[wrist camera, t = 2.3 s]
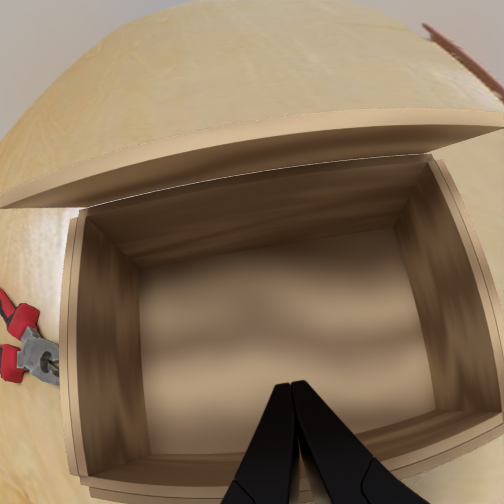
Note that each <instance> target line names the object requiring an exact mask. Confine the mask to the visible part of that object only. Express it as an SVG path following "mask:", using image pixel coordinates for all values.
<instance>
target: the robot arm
mask: <svg viewBox="0 0 504 504" xmlns="http://www.w3.org/2000/svg"><path fill="white" fill-rule="evenodd" d="M298 441H299V442H298ZM299 447H300V451H299ZM300 453H301V457H302V460H303V464H304V467H305V471H306V474H307V477H308V481H309V484H310V487H311V491H312V494H313V497H314V501H315V504H430V503H429V502H427V501H426V500H425V499H423V498H422V497H420V496H419V495H418V494H416V493H415V492H414V491H412V490H411V489H410V488H408V487H407V486H406V485H405V484H403V483H402V482H401V481H400V480H398V479H397V478H396V477H395V476H394V475H393V474H392V473H391V472H390V471H389V470H388V469H387V468H386V467H385V466H384V465H383V464H382V463H381V462H380V461H379V460H378V459H377V458H376V457H373V456H374V455H373V454H372V453H371V452H370V451H369V450H368V449H367V448H366V446H365V445H364V444H363V443H362V442H361V441H360V440H359V439H358V438H357V437H356V436H355V435H354V434H353V432H352V431H351V430H350V429H349V428H348V427H347V426H346V425H345V424H344V423H343V421H342V420H341V419H340V418H339V417H338V416H337V415H336V414H335V413H334V412H333V410H332V409H331V408H330V407H329V406H328V405H327V404H326V403H325V401H324V400H323V399H322V398H321V397H320V396H319V395H318V394H317V392H316V391H315V390H314V389H313V388H312V387H311V386H310V384H309V383H308V382H307V381H306V380H299V381H293V382H291V385H290V383H288V382H287V383H280V384H276V385H275V386H274V388H273V390H272V393H271V395H270V398H269V400H268V402H267V405H266V407H265V409H264V412H263V414H262V416H261V419H260V421H259V423H258V425H257V428H256V430H255V432H254V435H253V437H252V439H251V441H250V443H249V446H248V448H247V450H246V452H245V454H244V456H243V459H242V461H241V463H240V465H239V467H238V469H237V471H236V473H235V476H234V480H232V481H231V483H230V486H229V488H228V490H227V492H226V493H225V495H224V497H223V499H222V501H221V502H220V504H299V494H300Z"/></svg>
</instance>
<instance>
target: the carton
mask: <svg viewBox="0 0 504 504" xmlns="http://www.w3.org/2000/svg"><path fill="white" fill-rule="evenodd" d="M59 377H60V397H61V410H62V421H63V430H64V439H65V446H66V453H67V459H68V465H69V471H70V474H71V475H75V476H79V477H80V482H81V485H85V486H89V491H90V495H91V497H93V498H98V499H103V500H108V501H114V502H120V503H126V504H220V502H221V501H222V499H223V497H224V495H225V493H226V492H227V490H228V488H229V486H230V483H231V481H232V480H234V476H235V473H236V471H237V469H238V467H239V465H240V463H241V461H242V459H243V456H244V454H245V452H246V450H247V448H248V446H249V443H250V441H251V439H252V437H253V435H254V432H255V430H256V428H257V425H258V423H259V421H260V419H261V416H262V414H263V412H264V409H265V407H266V405H267V402H268V400H269V398H270V395H271V393H272V390H273V388H274V386H275V385H276V384H280V383H287V382H288V383H290V385H291V382H293V381H299V380H306V381H307V382H308V383H309V384H310V386H311V387H312V388H313V389H314V390H315V391H316V392H317V394H318V395H319V396H320V397H321V398H322V399H323V400H324V401H325V403H326V404H327V405H328V406H329V407H330V408H331V409H332V410H333V412H334V413H335V414H336V415H337V416H338V417H339V418H340V419H341V420H342V421H343V423H344V424H345V425H346V426H347V427H348V428H349V429H350V430H351V431H352V432H353V434H354V435H355V436H356V437H357V438H358V439H359V440H360V441H361V442H362V443H363V444H364V445H365V446H366V448H367V449H368V450H369V451H370V452H371V453H372V454H373V455H374V456H373V457H376V458H377V459H378V460H379V461H380V462H381V463H382V464H383V465H384V466H385V467H386V468H387V469H388V470H389V471H390V472H391V473H392V474H393V475H394V476H395V477H396V478H397V479H398V480H401V479H404V478H407V477H410V476H413V475H416V474H419V473H421V472H424V471H427V470H429V469H432V468H434V467H437V466H439V465H442V464H444V463H446V462H449V461H451V460H453V459H456V458H458V457H460V456H462V455H464V454H466V453H469V452H471V451H473V450H475V449H477V448H479V447H481V446H483V445H485V444H486V443H488V442H490V441H492V440H494V439H496V438H498V437H499V436H501V435H503V434H504V318H503V314H502V310H501V306H500V302H499V299H498V295H497V292H496V288H495V285H494V281H493V278H492V275H491V272H490V269H489V266H488V263H487V260H486V257H485V254H484V252H483V249H482V246H481V243H480V241H479V238H478V236H477V233H476V230H475V228H474V225H473V223H472V221H471V218H470V216H469V213H468V211H467V209H466V207H465V204H464V202H463V200H462V198H461V196H460V193H459V191H458V189H457V187H456V185H455V183H454V181H453V179H452V177H451V175H450V173H449V171H448V169H447V167H446V165H445V163H444V161H443V160H434V158H433V156H432V154H419V155H404V156H391V157H379V158H367V159H357V160H347V161H338V162H329V163H321V164H313V165H305V166H298V167H290V168H283V169H277V170H270V171H263V172H257V173H251V174H245V175H239V176H233V177H227V178H221V179H216V180H211V181H205V182H200V183H195V184H190V185H185V186H180V187H175V188H170V189H165V190H161V191H156V192H152V193H147V194H143V195H138V196H134V197H130V198H125V199H121V200H117V201H113V202H109V203H105V204H101V205H97V206H93V207H89V208H86V209H82V210H79V216H78V217H76V218H73V219H70V224H69V230H68V236H67V243H66V251H65V259H64V267H63V277H62V289H61V303H60V323H59ZM298 442H299V441H298ZM299 451H300V447H299ZM313 501H314V497H313V494H312V491H311V487H310V484H309V481H308V477H307V474H306V471H305V467H304V464H303V460H302V457H301V453H300V494H299V504H300V503H306V502H313Z"/></svg>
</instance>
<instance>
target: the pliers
mask: <svg viewBox="0 0 504 504" xmlns="http://www.w3.org/2000/svg"><path fill="white" fill-rule="evenodd" d="M0 314H1V316H2V317H3V319H4V321H5V323H6V326H7V331H8V332H9V333H10V334H11V335H12V336H14V337H16V338H17V339H18V340H20V341H22V342H23V345H22V348H21V349H20V348H18V347H15V346H12V345H9V344H3V345H0V374H1V378H3V379H4V380H5V381H9V382H14V383H19V382H21V381H22V378H23V372H24V371H26V370H30V373H31V374H33V375H34V376H36V377H37V378H38V379H40V380H41V381H43V382H47V383H51V384H55V385H59V386H60V377H59V370H58V369H56V368H55V367H54V366H52V365H51V364H50V363H49V360H52V361H53V362H56V363H59V345H58V344H56V343H54V342H51V341H49V340H46V339H43V338H40V334H39V333H38V332H37V327H36V323H37V320H38V317H39V311H38V310H37V309H36V308H35V307H33V306H30V305H28V304H26V303H20V304H19V305H18V307H17V308H16V309H15V308H14V306H13V305H12V303H11V301H10V300H9V299H8V297H7V296H6V295H5V293H4V292H3V290H2V289H1V288H0Z"/></svg>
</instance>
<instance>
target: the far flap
mask: <svg viewBox="0 0 504 504" xmlns="http://www.w3.org/2000/svg"><path fill="white" fill-rule="evenodd" d="M503 128H504V113H499V112H489V111H477V110H462V109H440V108H380V109H357V110H341V111H328V112H317V113H307V114H298V115H289V116H281V117H273V118H266V119H259V120H253V121H246V122H240V123H234V124H229V125H223V126H218V127H212V128H207V129H202V130H198V131H193V132H188V133H184V134H179V135H175V136H170V137H166V138H162V139H158V140H154V141H150V142H146V143H142V144H138V145H135V146H131V147H127V148H124V149H120V150H117V151H114V152H110V153H107V154H104V155H100V156H97V157H94V158H91V159H88V160H85V161H82V162H79V163H76V164H73V165H70V166H67V167H64V168H61V169H58V170H56V171H53V172H50V173H47V174H45V175H42V176H40V177H37V178H34V179H32V180H29V181H27V182H24V183H22V184H19V185H17V186H15V187H12V188H10V189H8V190H5V191H3V192H1V193H0V209H9V208H65V207H90V206H94V205H98V204H102V203H106V202H110V201H114V200H118V199H122V198H126V197H131V196H135V195H139V194H144V193H148V192H152V191H157V190H162V189H166V188H171V187H176V186H181V185H186V184H191V183H196V182H201V181H206V180H212V179H217V178H223V177H228V176H234V175H240V174H246V173H252V172H258V171H265V170H271V169H278V168H285V167H292V166H299V165H307V164H315V163H323V162H331V161H340V160H349V159H359V158H370V157H381V156H394V155H408V154H423V153H427V152H430V151H433V150H436V149H439V148H442V147H445V146H448V145H451V144H454V143H458V142H461V141H464V140H467V139H470V138H473V137H477V136H480V135H483V134H487V133H490V132H493V131H496V130H500V129H503Z"/></svg>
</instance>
